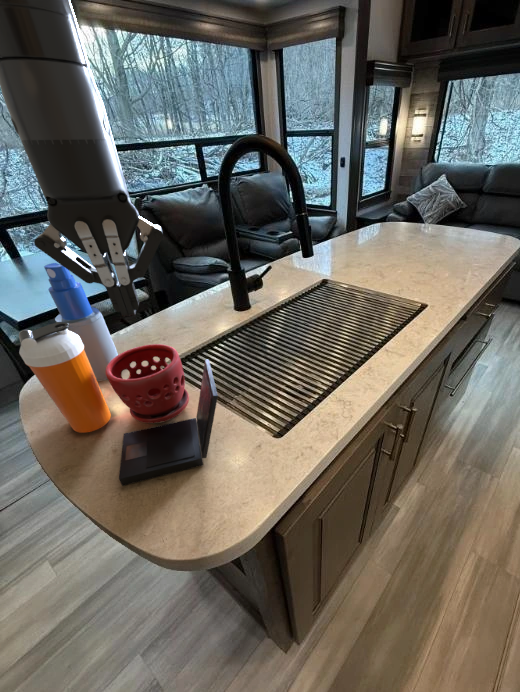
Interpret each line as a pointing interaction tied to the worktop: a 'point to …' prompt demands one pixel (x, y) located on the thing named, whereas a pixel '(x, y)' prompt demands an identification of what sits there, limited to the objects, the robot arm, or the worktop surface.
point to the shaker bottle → (65, 375)
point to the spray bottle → (81, 318)
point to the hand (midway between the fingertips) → (129, 313)
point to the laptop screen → (206, 408)
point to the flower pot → (150, 383)
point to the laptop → (160, 451)
